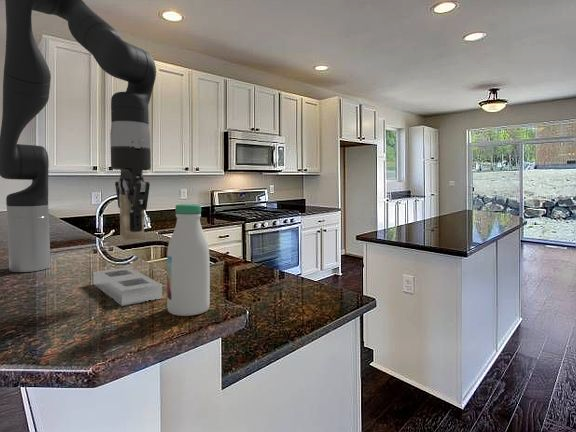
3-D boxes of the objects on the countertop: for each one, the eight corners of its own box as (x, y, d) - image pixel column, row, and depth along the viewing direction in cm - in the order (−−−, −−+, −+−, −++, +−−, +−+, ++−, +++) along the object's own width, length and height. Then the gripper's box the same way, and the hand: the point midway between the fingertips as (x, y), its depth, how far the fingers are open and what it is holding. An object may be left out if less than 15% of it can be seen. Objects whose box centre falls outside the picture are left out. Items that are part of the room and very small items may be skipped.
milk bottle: (217, 306, 74) (217, 204, 72) (194, 319, 66) (194, 206, 65) (183, 301, 76) (182, 203, 74) (158, 313, 69) (157, 204, 67)
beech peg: (120, 237, 78) (119, 194, 77) (137, 236, 81) (137, 194, 80) (126, 239, 75) (125, 194, 75) (144, 238, 78) (143, 194, 77)
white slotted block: (93, 284, 88) (93, 271, 87) (129, 279, 93) (128, 267, 93) (121, 306, 73) (121, 290, 72) (162, 298, 78) (161, 284, 78)
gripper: (101, 147, 79) (103, 228, 81) (123, 142, 69) (124, 235, 70) (137, 150, 84) (138, 226, 86) (162, 145, 74) (163, 232, 75)
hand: (132, 230), depth 78 cm, fingers closed on beech peg, 3 cm apart
